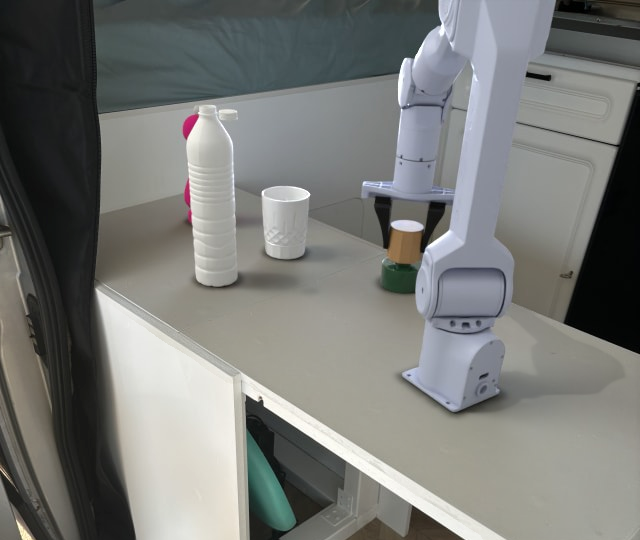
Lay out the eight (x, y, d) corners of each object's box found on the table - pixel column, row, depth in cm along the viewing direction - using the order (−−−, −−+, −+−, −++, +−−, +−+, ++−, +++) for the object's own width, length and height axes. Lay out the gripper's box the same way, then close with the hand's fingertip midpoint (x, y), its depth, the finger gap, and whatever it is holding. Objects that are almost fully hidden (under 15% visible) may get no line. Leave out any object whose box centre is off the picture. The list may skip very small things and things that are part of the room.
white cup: (302, 263, 109) (303, 203, 103) (256, 258, 110) (255, 198, 104) (312, 246, 115) (314, 188, 109) (268, 241, 116) (268, 183, 110)
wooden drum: (426, 259, 101) (431, 227, 98) (401, 266, 99) (405, 234, 96) (405, 248, 104) (409, 217, 101) (380, 254, 102) (383, 223, 99)
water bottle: (187, 277, 103) (173, 103, 88) (219, 266, 107) (211, 98, 92) (223, 296, 98) (214, 115, 83) (255, 284, 102) (252, 109, 87)
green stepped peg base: (428, 287, 104) (434, 248, 100) (397, 296, 101) (402, 256, 97) (402, 273, 108) (407, 234, 104) (372, 281, 105) (375, 241, 101)
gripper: (467, 153, 95) (452, 244, 103) (368, 144, 97) (361, 234, 105) (468, 167, 89) (451, 261, 97) (363, 157, 91) (355, 250, 99)
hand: (404, 248), depth 101 cm, fingers closed on wooden drum, 5 cm apart
